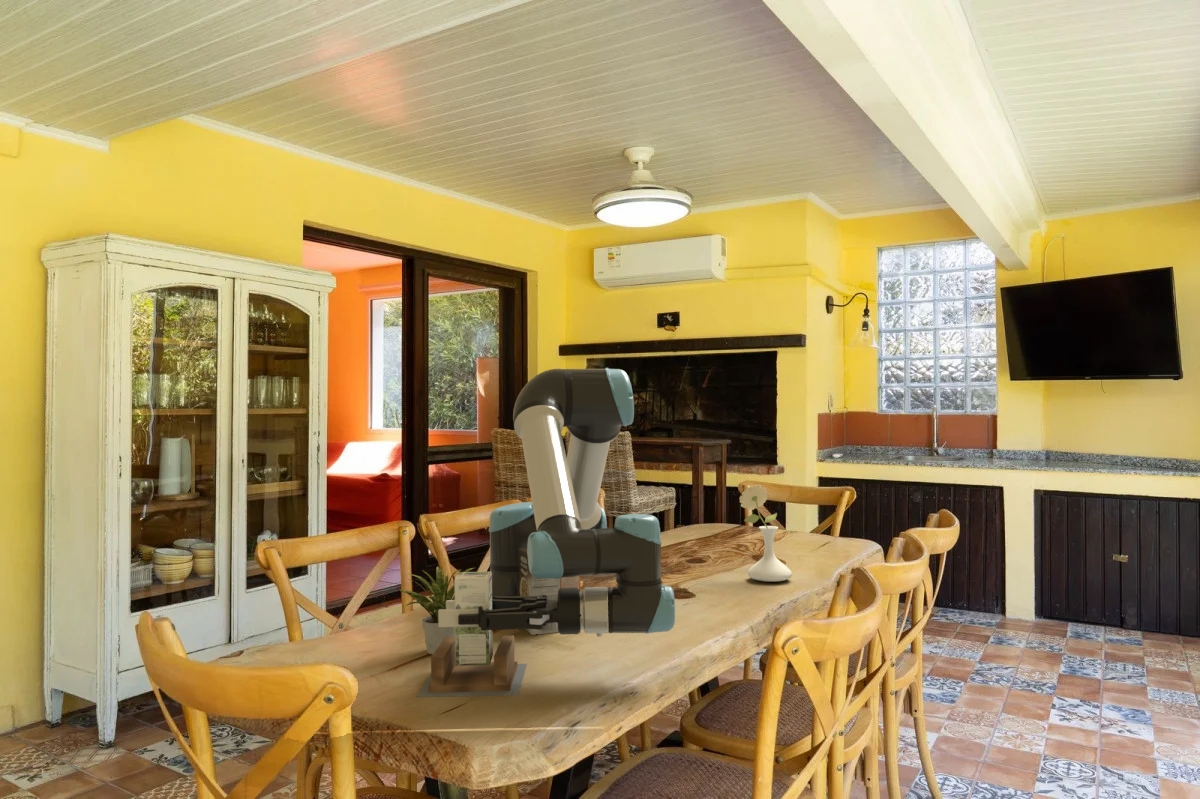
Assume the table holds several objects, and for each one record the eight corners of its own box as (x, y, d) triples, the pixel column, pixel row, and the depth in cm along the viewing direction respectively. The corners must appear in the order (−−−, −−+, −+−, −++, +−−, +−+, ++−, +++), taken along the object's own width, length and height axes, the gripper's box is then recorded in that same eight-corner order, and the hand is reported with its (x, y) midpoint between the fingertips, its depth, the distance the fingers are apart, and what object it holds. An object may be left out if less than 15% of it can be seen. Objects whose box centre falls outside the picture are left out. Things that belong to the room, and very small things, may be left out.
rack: (517, 667, 141) (516, 635, 141) (510, 690, 129) (509, 656, 129) (442, 668, 141) (442, 636, 141) (428, 692, 129) (427, 657, 129)
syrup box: (493, 655, 138) (492, 569, 139) (490, 666, 132) (488, 576, 133) (459, 656, 138) (458, 570, 138) (454, 667, 132) (453, 577, 132)
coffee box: (518, 625, 171) (517, 548, 171) (548, 621, 173) (546, 545, 173) (530, 635, 162) (529, 554, 163) (561, 632, 165) (560, 552, 165)
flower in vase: (789, 576, 216) (787, 482, 217) (795, 585, 205) (793, 485, 205) (739, 576, 217) (737, 482, 218) (742, 585, 206) (740, 486, 206)
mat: (527, 665, 143) (527, 663, 143) (518, 696, 127) (518, 694, 127) (436, 667, 143) (436, 665, 143) (416, 698, 127) (416, 696, 127)
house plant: (450, 635, 163) (448, 554, 164) (497, 647, 155) (496, 561, 155) (391, 652, 152) (389, 565, 153) (438, 666, 144) (437, 573, 144)
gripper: (580, 649, 126) (431, 652, 126) (583, 619, 145) (453, 621, 145) (579, 600, 126) (430, 603, 126) (582, 576, 145) (452, 579, 145)
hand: (443, 613), depth 135 cm, fingers closed on syrup box, 6 cm apart
